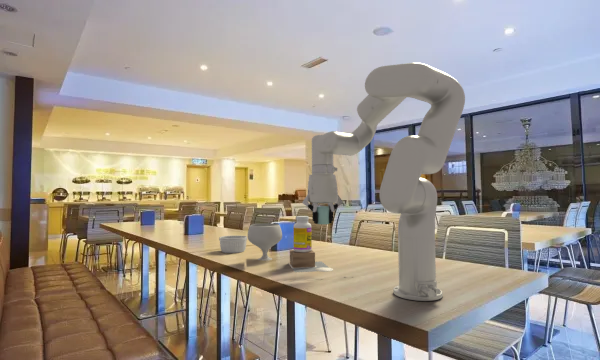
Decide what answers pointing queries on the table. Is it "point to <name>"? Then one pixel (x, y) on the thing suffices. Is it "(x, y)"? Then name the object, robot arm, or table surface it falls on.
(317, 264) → the build board
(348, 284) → the table surface
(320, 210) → the teal post
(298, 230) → the supplement bottle
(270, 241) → the chalice
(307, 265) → the walnut plinth
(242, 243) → the ramekin
